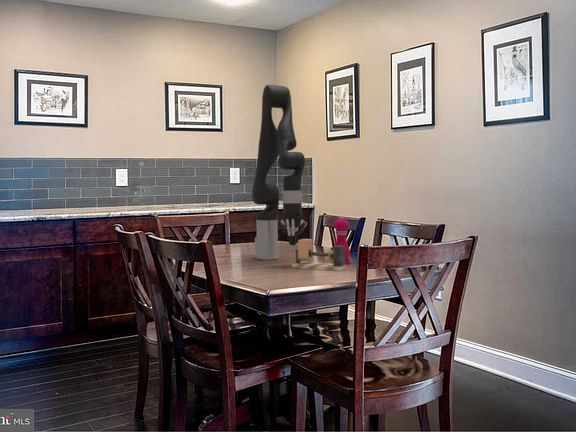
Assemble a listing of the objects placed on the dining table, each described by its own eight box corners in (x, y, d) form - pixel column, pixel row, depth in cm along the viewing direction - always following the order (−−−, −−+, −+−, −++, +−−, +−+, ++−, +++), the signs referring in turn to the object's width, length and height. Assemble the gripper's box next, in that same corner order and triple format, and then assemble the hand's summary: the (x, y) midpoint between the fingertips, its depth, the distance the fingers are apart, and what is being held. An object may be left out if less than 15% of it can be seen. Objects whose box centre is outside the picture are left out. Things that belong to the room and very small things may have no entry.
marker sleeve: (298, 259, 224) (297, 240, 223) (303, 258, 228) (303, 238, 228) (307, 260, 222) (307, 240, 222) (312, 258, 226) (312, 239, 226)
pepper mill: (349, 264, 230) (349, 215, 229) (331, 264, 232) (331, 215, 230) (351, 262, 237) (350, 214, 236) (333, 261, 239) (333, 214, 237)
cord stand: (292, 267, 224) (292, 245, 223) (300, 265, 230) (300, 243, 230) (339, 271, 215) (339, 247, 214) (346, 268, 221) (346, 245, 220)
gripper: (273, 202, 226) (273, 245, 227) (302, 202, 220) (303, 246, 221) (282, 201, 233) (282, 243, 234) (311, 201, 226) (311, 244, 227)
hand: (292, 245), depth 227 cm, fingers closed
